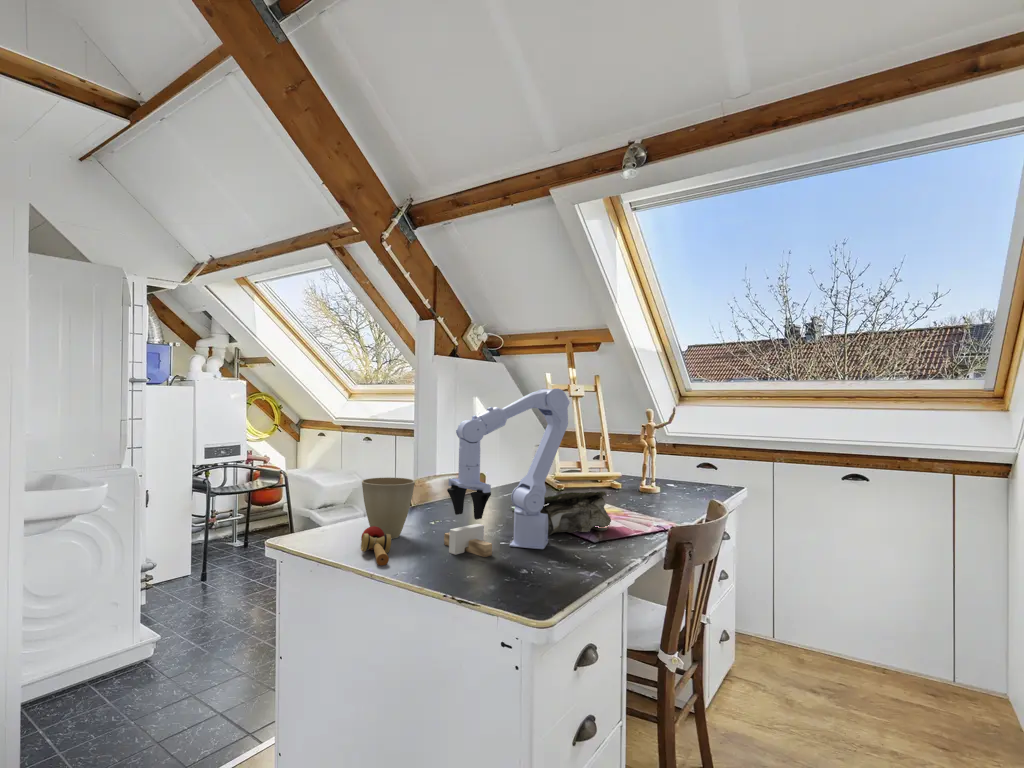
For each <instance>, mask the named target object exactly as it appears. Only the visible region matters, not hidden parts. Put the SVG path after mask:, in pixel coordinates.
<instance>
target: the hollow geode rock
mask: <svg viewBox="0 0 1024 768" xmlns="http://www.w3.org/2000/svg"><path fill="white" fill-rule="evenodd" d="M604 496H607V492H605V491H602V490H601V491H597V492H593V491H590V492H588V491H586V492H573V491H571V492H564V493H559V494H556V495H553V496H552V495H551V496H546V497H545V496H544V506H543V508H542V510H541V511H540V513H543V514H547V515H548V536H551V535H552V534H555V533H565V532H566V533H570V534H571V533H575V532H581V533H589V532H590V531H591V529H594V530H596V531H600V532H601V531H603V532H604V531H607V530H608V529H609V527H607V528H598V527H595V526H599V527H605V526H608V525H609V526H610V525H611V522H612V519H611V517H610V515H609V514H608V512H607V511H606V509H605V506H606V505H607V503H606V500H605V499H604ZM588 531H589V532H588Z"/></svg>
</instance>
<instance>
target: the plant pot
mask: <svg viewBox="0 0 1024 768" xmlns="http://www.w3.org/2000/svg"><path fill="white" fill-rule="evenodd" d="M415 482H416V481H415V480H414V479H412V478H407V477H406V478H405V477H391V476H390V477H388V476H387V477H371V478H366V479H362V480H361V485H362V486H361V487H362V488H361V489H362V497H363V503H364V509H365V513H366V517H367V521H368V525H369V527H372V526H376V527H379V528H381V529H382V530H383V532H384V535H385V534H390V535H391V540H393V539H397V538H399V537H400V535H401V534H402V530H403V528H404V526H405V523H406V521H407V517H408V514H409V511H410V508H411V504H412V499H413V494H414V489H415Z"/></svg>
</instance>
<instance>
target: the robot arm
mask: <svg viewBox="0 0 1024 768" xmlns="http://www.w3.org/2000/svg"><path fill="white" fill-rule="evenodd" d="M569 405H570V400H569V398H568V396H567V393H565V391H564V390H563V389H561V388H540V389H537V391H533V392H530V393H528V394H526V395H523V397H520V398H519V399H517V400H515V401H513V402H512V403H509V404H507V405H506V406H504V407H502V408H500V407H498V406H489V407H487V408H486V411H484V412H482V413H479V414H478V415H476V414H474V415H472V416H471V419H465V420H462V421H461V422H460V423H459V425H458V426H457V428H456V430H455V434H456V436H457V437H458V439H459V445H458V446H459V447H458V478H448V488H447V489H446V491H447V493H448V495H449V498H450V499H451V502H452V506H453V509H454V510H453V511H454V514H455V515H456V516H457V515H463V514H464V513H463V512H464V507H465V506H464V505H465V503H464V502H465V497H466V493H467V490H470V491H471V490H472V492H470V497H471V501H472V505H473V519H474V520H481V519H483V516H484V511H485V507H486V505H487V503H488V501H489V499H490V497H492V496H491V495H492V488H491V487H492V484H488V483H486V482H483V481H481V441H482V439H483V438H484V436H486V435H487V436H488V435H489V434H490V433H493V432H495V431H496V430H498V429H500V428H503V427H504V426H505V425H506V424H507V421H508V420H509V419H510V418H513V417H515V416H517V415H519V414H522V413H525V412H526V411H528V410H532V409H537V410H538V411H539V412H540V413H541V414H542V415H543V417H544V418H545V421H546V423H547V425H546V427H545V430H544V431H543V435H542V438H541V440H540V442H539V444H538V447H537V449H536V451H535V454H534V456H533V459H532V461H531V464H530V466H529V469H528V470H527V471H528V472H527V474H525V475H524V476H523V477H522V479H520V481H519V483H518V485H517V486H516V487H514V489H513V490H512V492H511V496H510V499H511V503H512V505H514V511H513V512H514V513H513V516H514V517H513V540H512V541H511V542H510V543H509V547H511V548H525V549H535V550H544V549H545V548H546V546H547V545H548V543H549V535H548V515H547V514H543V513H540V511H541V510H542V508H543V506H545V505H544V497H545V496H546V493H547V488H546V487H547V486H546V483H545V482H546V479H547V477H548V475H549V473H550V470H551V467H552V465H553V462H554V460H555V458H556V455H557V453H558V450H559V448H560V446H561V443H562V440H563V438H564V436H565V434H566V431H567V428H568V425H569V413H568V412H569V410H568V407H569ZM473 491H474V492H473Z"/></svg>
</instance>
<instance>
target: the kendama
mask: <svg viewBox="0 0 1024 768" xmlns="http://www.w3.org/2000/svg"><path fill="white" fill-rule="evenodd" d="M360 540H361V541H360V542H361V543H360V550H361V552H367V551H368V550H370V551H374V556H375V562H376V564H377V565H378V566H386V565H387V564H388V563H389V562H390V557H389V555H388V553H389V552H390V549H391V547H392V539H391V535H390V534H385V535H384V532H383V530H382V529H381V528H379V527H376V526H372V527H370V526H369V527H367V528H365V530H363V532H362V534H361V539H360Z"/></svg>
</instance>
